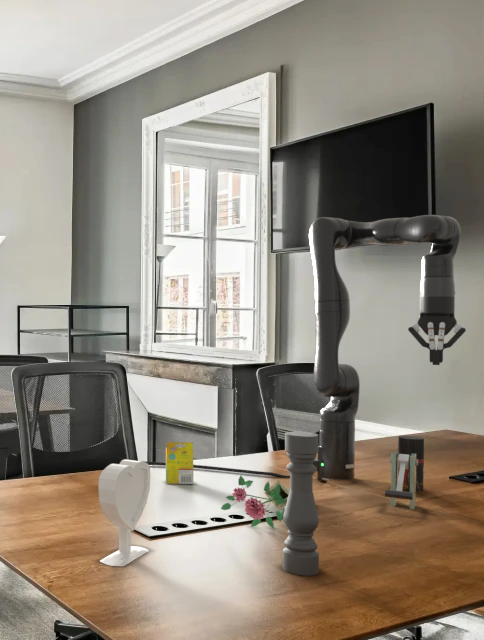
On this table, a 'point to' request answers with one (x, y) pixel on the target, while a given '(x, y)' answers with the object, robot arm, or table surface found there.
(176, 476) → the crayon box
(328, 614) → the table surface
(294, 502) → the candle holder
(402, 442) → the deodorant
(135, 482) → the heart sculpture
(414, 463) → the bracket
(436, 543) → the table surface
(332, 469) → the robot arm
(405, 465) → the lever
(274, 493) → the flower vase
